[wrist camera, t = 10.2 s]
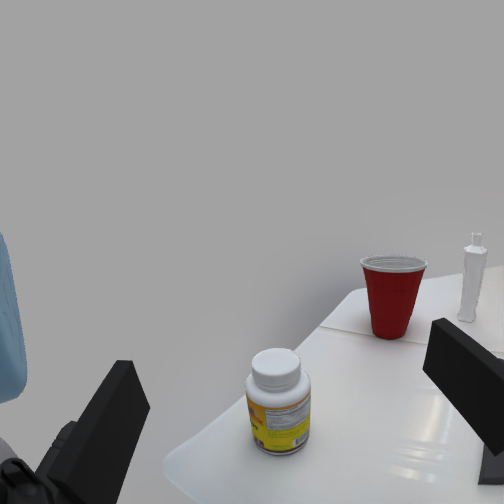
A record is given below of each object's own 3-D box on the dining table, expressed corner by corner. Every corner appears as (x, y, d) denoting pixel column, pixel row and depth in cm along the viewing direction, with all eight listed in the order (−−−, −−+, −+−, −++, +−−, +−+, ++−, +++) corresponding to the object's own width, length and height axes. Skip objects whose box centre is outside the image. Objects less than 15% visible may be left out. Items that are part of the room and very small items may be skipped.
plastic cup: (418, 316, 43) (424, 250, 40) (422, 349, 34) (433, 270, 31) (361, 313, 48) (362, 249, 45) (352, 345, 39) (355, 268, 36)
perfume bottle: (479, 323, 35) (492, 236, 32) (458, 323, 37) (469, 235, 34) (475, 312, 39) (485, 231, 36) (455, 311, 41) (463, 230, 38)
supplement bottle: (255, 419, 27) (244, 343, 25) (307, 417, 26) (307, 339, 24) (251, 458, 21) (237, 382, 19) (310, 455, 21) (314, 378, 19)
